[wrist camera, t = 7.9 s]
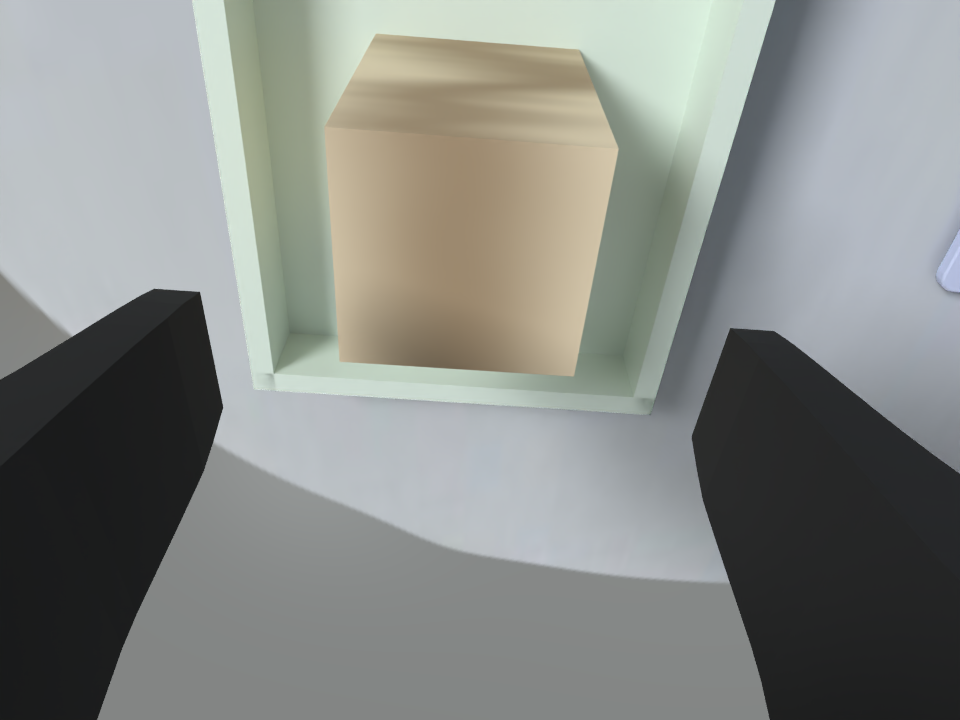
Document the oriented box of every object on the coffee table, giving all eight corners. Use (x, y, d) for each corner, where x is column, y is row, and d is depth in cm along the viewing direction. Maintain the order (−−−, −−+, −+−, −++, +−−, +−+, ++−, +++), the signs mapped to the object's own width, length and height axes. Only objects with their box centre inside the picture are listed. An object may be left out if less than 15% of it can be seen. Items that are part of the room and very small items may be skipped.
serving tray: (776, -167, 14) (825, -165, 12) (635, 360, 21) (650, 415, 19) (205, -222, 13) (155, -231, 11) (276, 336, 21) (253, 389, 19)
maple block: (579, 49, 15) (618, 148, 11) (551, 232, 18) (573, 376, 13) (375, 33, 15) (324, 126, 11) (379, 220, 18) (339, 361, 13)
